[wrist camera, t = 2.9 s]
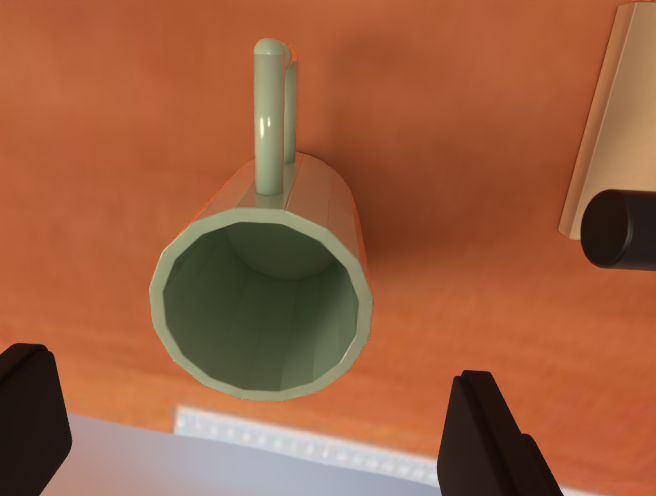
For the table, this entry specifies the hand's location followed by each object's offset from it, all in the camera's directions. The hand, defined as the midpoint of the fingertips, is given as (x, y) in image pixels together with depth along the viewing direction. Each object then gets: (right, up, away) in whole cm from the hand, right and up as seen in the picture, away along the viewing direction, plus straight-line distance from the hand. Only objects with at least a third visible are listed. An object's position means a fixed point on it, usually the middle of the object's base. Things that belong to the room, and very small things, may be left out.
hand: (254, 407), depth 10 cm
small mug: (0, +7, +11) cm, 13 cm away
